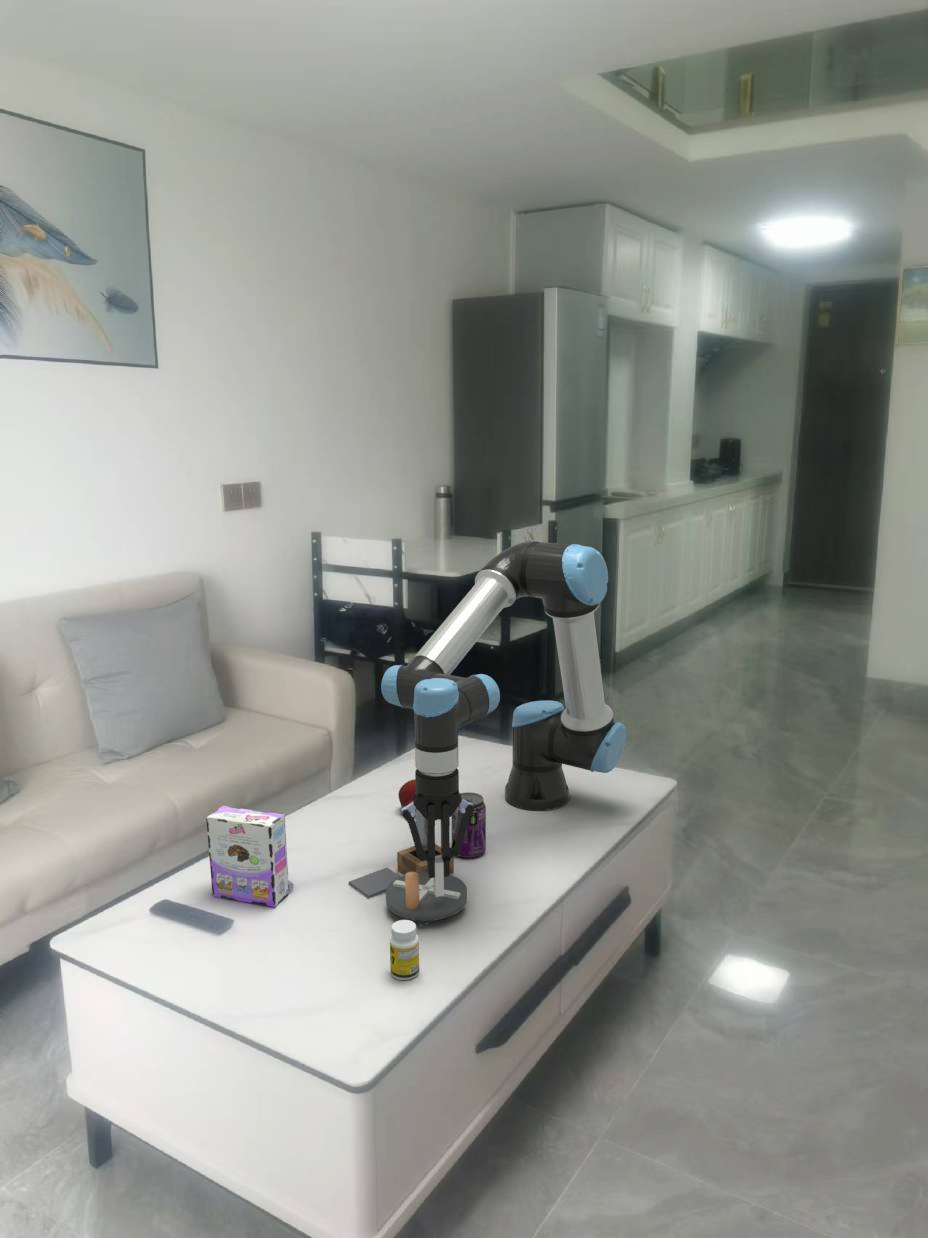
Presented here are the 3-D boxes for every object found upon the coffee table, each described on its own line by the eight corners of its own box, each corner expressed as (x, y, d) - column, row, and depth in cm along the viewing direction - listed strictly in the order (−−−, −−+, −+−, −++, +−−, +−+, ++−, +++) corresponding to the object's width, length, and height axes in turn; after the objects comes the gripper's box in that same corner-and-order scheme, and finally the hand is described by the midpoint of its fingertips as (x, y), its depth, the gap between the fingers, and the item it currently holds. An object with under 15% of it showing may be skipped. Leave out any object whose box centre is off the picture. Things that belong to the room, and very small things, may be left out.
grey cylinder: (427, 865, 187) (426, 805, 184) (438, 872, 184) (437, 811, 181) (412, 871, 184) (411, 810, 182) (423, 878, 182) (422, 816, 179)
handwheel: (479, 887, 174) (479, 849, 173) (447, 927, 161) (447, 886, 159) (407, 873, 180) (406, 836, 178) (371, 910, 166) (370, 871, 165)
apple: (419, 822, 206) (419, 788, 205) (391, 814, 210) (390, 781, 209) (438, 810, 213) (437, 777, 211) (410, 803, 217) (409, 771, 215)
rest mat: (387, 870, 185) (386, 867, 185) (407, 883, 180) (407, 880, 179) (348, 884, 179) (348, 881, 179) (368, 898, 174) (368, 895, 174)
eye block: (429, 858, 190) (429, 840, 189) (453, 873, 184) (453, 854, 183) (397, 870, 185) (397, 852, 184) (421, 885, 179) (421, 866, 178)
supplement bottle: (390, 964, 153) (389, 918, 151) (418, 963, 154) (418, 917, 152) (390, 982, 148) (389, 934, 147) (420, 980, 149) (419, 933, 147)
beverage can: (482, 861, 188) (482, 806, 186) (448, 858, 190) (447, 804, 187) (488, 846, 195) (488, 792, 192) (455, 843, 196) (455, 790, 194)
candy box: (290, 893, 176) (286, 813, 172) (274, 909, 171) (270, 826, 167) (228, 882, 180) (222, 803, 177) (210, 897, 175) (204, 816, 171)
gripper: (470, 758, 164) (471, 879, 170) (397, 762, 162) (400, 885, 168) (477, 774, 157) (478, 900, 162) (401, 779, 155) (404, 906, 160)
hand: (438, 892), depth 165 cm, fingers closed
